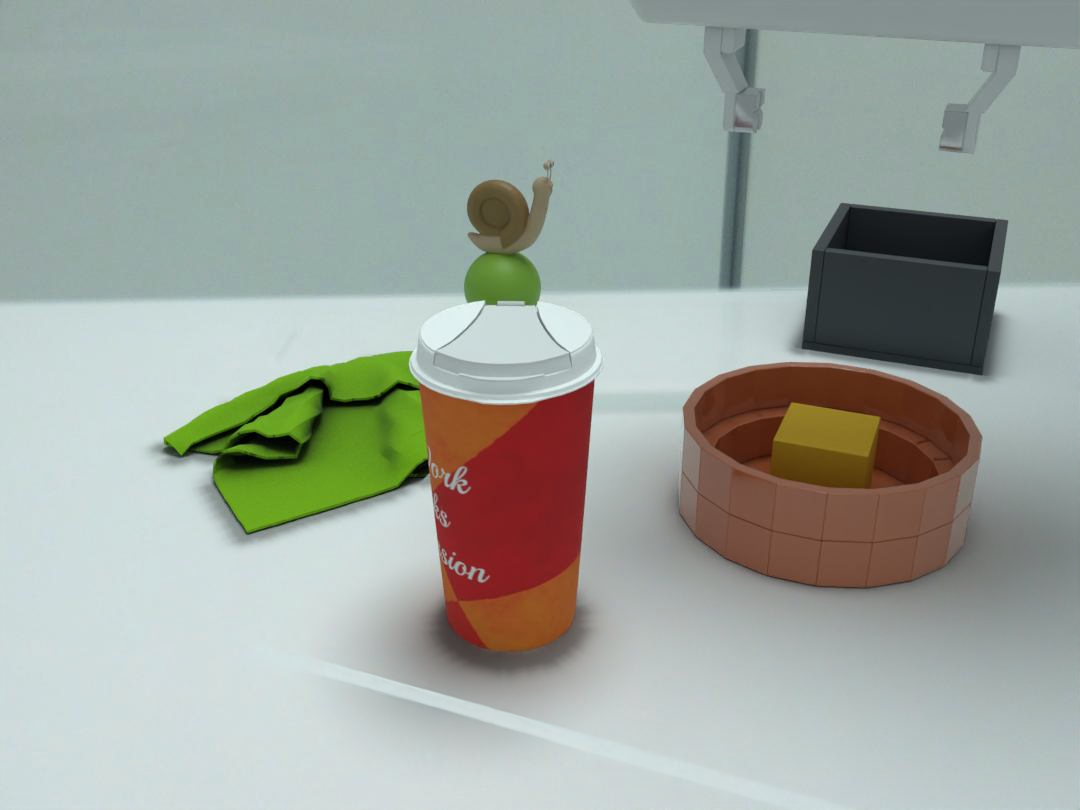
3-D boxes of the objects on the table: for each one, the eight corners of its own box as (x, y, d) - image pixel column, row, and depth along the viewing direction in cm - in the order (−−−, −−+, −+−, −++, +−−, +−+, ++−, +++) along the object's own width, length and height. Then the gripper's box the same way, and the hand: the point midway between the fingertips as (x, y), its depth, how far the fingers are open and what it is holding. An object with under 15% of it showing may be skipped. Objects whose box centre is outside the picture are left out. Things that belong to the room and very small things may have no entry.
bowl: (972, 478, 62) (989, 386, 60) (951, 627, 51) (971, 520, 48) (716, 432, 67) (722, 346, 65) (642, 559, 56) (647, 459, 53)
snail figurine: (540, 343, 79) (540, 171, 74) (453, 332, 81) (447, 163, 76) (563, 315, 84) (564, 151, 79) (480, 305, 86) (476, 144, 80)
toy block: (869, 493, 60) (880, 416, 58) (856, 537, 56) (868, 456, 54) (783, 477, 61) (791, 401, 59) (765, 519, 58) (773, 439, 56)
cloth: (530, 359, 77) (530, 325, 76) (513, 537, 57) (512, 495, 56) (226, 356, 77) (222, 322, 76) (106, 531, 58) (98, 489, 57)
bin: (991, 314, 84) (1008, 219, 81) (981, 376, 74) (1001, 271, 71) (830, 293, 88) (840, 202, 85) (801, 349, 78) (812, 249, 75)
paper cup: (435, 570, 55) (421, 292, 49) (597, 573, 54) (603, 294, 48) (412, 677, 48) (392, 369, 42) (598, 681, 47) (605, 372, 41)
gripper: (1176, -211, 44) (1098, 146, 51) (666, -207, 51) (651, 107, 57) (1191, -219, 39) (1102, 181, 45) (620, -213, 46) (609, 133, 52)
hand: (846, 139), depth 51 cm, fingers open, 8 cm apart
